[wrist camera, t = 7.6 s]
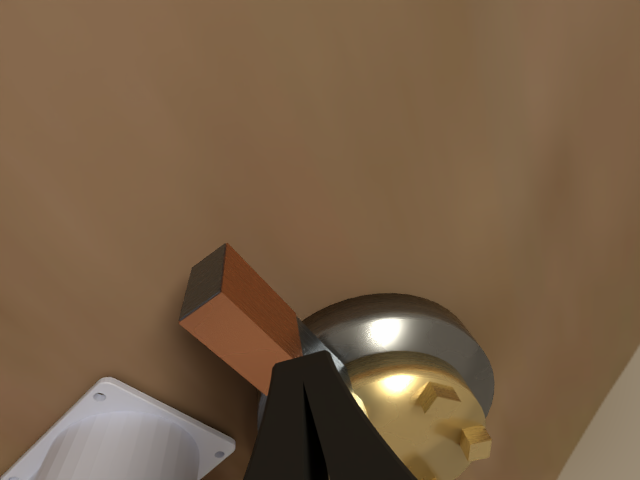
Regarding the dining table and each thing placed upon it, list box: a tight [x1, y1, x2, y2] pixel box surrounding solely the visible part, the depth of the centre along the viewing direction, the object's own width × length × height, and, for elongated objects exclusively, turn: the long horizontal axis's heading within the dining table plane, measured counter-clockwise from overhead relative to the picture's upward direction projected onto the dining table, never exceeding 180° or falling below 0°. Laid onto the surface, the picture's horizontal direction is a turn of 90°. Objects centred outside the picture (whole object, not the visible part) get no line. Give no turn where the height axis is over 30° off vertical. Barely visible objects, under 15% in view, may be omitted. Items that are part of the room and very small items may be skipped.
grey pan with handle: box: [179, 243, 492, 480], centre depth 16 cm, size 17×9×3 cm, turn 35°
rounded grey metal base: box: [257, 293, 494, 431], centre depth 21 cm, size 12×12×2 cm
